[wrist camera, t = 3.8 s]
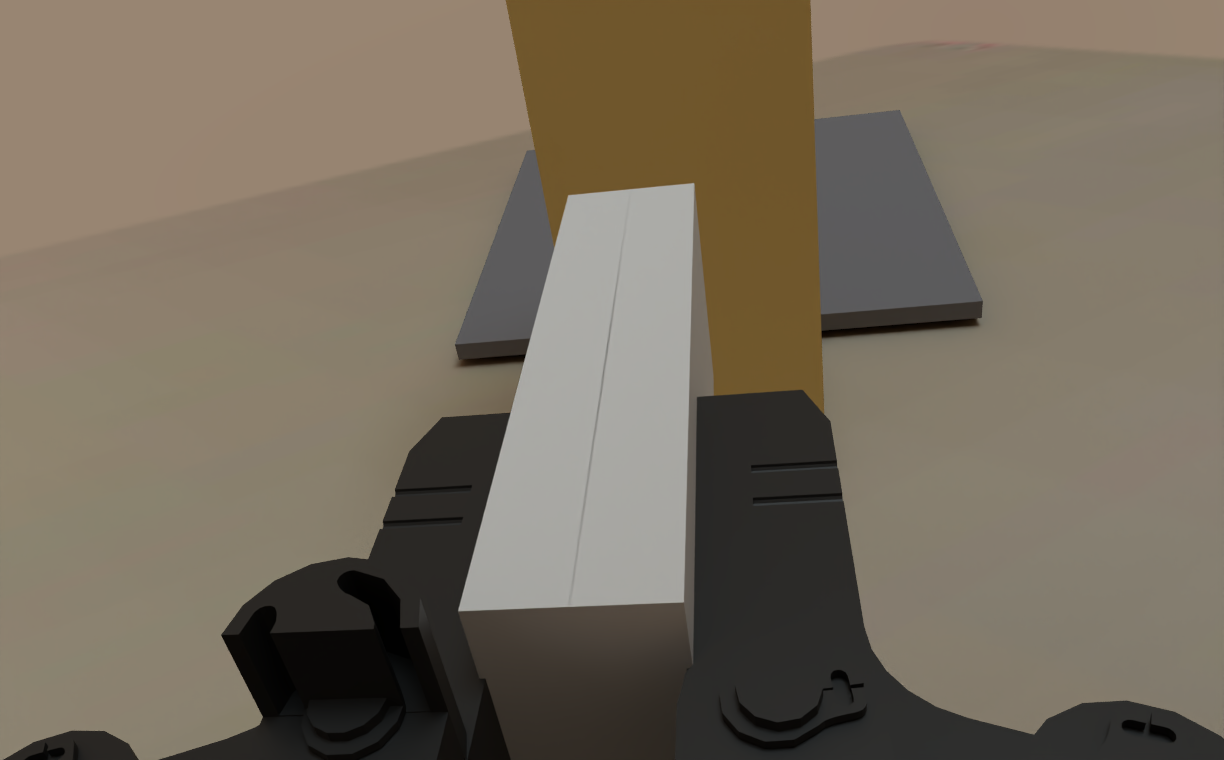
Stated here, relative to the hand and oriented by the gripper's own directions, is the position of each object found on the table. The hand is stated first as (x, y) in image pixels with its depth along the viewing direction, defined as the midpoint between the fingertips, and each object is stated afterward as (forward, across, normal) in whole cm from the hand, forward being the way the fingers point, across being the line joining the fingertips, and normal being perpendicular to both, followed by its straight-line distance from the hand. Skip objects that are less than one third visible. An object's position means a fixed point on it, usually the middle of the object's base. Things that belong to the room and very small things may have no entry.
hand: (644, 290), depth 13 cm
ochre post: (+9, 0, -9) cm, 12 cm away
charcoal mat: (+19, 0, -8) cm, 21 cm away
